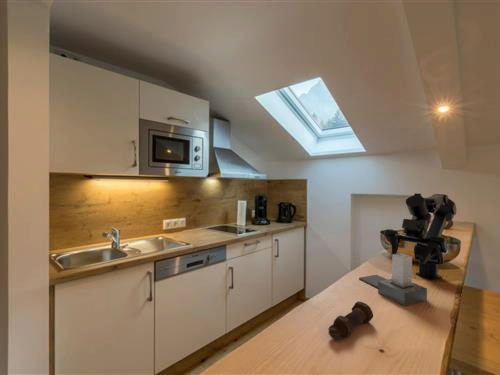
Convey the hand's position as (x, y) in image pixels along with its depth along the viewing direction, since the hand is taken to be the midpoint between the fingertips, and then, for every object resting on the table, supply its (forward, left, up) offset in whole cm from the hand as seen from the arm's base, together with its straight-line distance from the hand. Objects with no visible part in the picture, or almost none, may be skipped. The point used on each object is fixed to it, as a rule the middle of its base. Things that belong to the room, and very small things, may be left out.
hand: (407, 259), depth 87 cm
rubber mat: (+2, -10, -11) cm, 16 cm away
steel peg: (+4, +2, -11) cm, 12 cm away
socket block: (+4, +2, -11) cm, 12 cm away
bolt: (+34, +10, -12) cm, 37 cm away
